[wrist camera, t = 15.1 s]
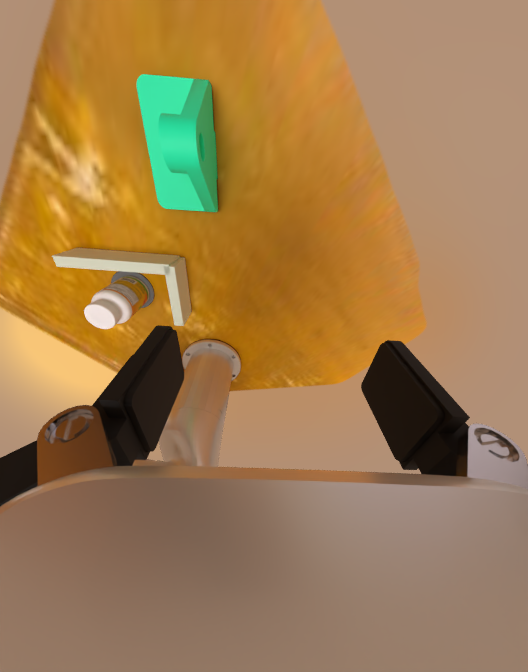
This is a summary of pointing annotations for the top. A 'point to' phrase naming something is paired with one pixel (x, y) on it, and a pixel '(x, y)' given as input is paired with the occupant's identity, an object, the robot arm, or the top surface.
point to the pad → (140, 277)
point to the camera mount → (180, 140)
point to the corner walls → (137, 271)
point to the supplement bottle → (117, 302)
